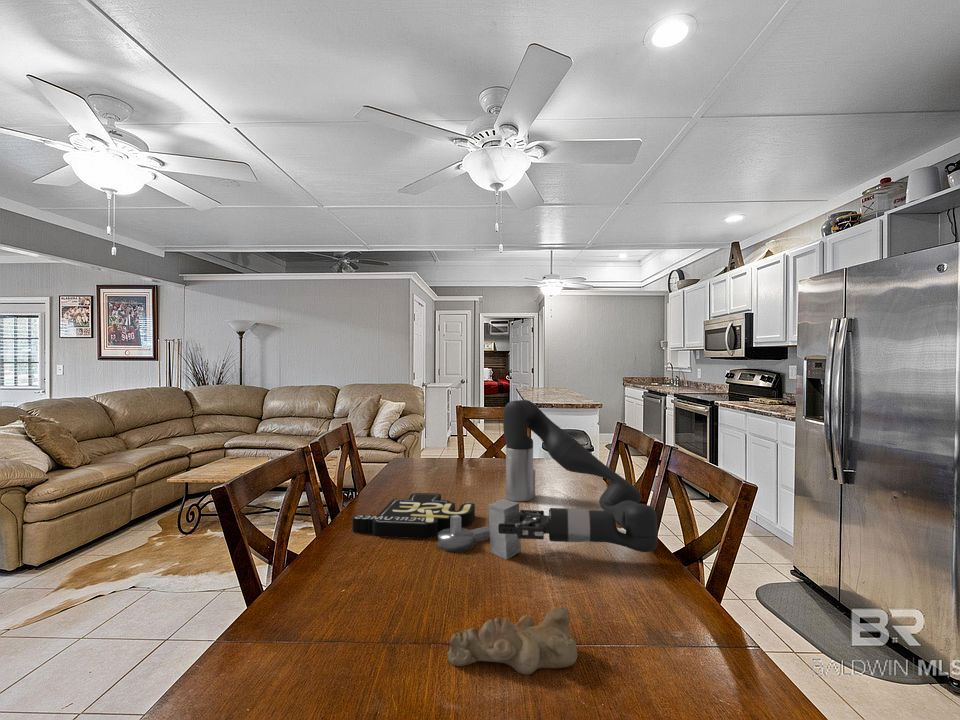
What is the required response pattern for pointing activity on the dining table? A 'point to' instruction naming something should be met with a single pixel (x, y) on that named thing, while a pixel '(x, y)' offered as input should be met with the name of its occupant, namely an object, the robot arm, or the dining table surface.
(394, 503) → the sign
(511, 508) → the brushed aluminum block
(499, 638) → the figurine
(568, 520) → the robot arm
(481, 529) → the ratchet
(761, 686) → the dining table surface
